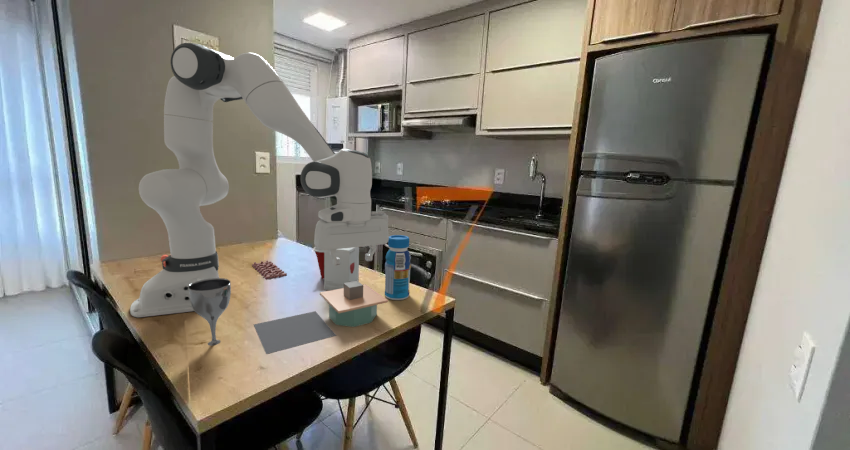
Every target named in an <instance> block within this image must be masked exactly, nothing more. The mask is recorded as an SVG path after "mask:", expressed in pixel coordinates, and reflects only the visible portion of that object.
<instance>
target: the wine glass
mask: <svg viewBox="0 0 850 450" xmlns="http://www.w3.org/2000/svg"><path fill="white" fill-rule="evenodd" d="M188 289H189V298H190V302H191V305H192V307H193V309H194V311H193V312H195V313H196V314H197V315H198V316H199V317H201V318H203V319H204V320H205V321H206V322H207V323H208V325H209V327H210V332H211V340H210V341H209V342H208V343H207V345H208V346H210V347H211V346H213V347H214V346H216V345H219V344H220V343H221V340H220V339H217V335H216V334H217V333H216V329H217V322H218V320H219V318H220V317H221V316H222V315H223V313H224V312H225V311H226V309H228V307H229V305H230V300H231V294H232V293H231V292H232V290H231V289H232V287H231V280H230V279H227V278H222V277H219V278H211V279H204V280H200V281H197V282H194V283H192V284H190V285H189V287H188Z"/></svg>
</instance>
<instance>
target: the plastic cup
mask: <svg viewBox="0 0 850 450" xmlns="http://www.w3.org/2000/svg"><path fill="white" fill-rule="evenodd" d="M312 249H313V251H314V252H315V256H316V259H317V264H318V269H319V273H320V277H321V279H323V280H324V250H323V251H321V250H319V249H318V248H316V246H314V247H313V248H312Z"/></svg>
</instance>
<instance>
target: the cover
mask: <svg viewBox="0 0 850 450" xmlns="http://www.w3.org/2000/svg"><path fill="white" fill-rule="evenodd" d="M319 295H320V296H321V297H322V299H323V300H324V301H326V302H327V304H328V305H329V304H330V305H331V306H332V307H333V308H334V309H335V310H336V311H337V312H338V313H343V312H347V311H352V310H356V309H360V308H365V307H369V306H374V305H377V306H378V305H383V304H386V303H388V302H389V299H388V298H387V297H384V296H383V295H382V294H380V293H379V292H377V291H376V290H374V289H373V288H372V287H371V286H369V285H368V284H366V283H365V284H362V283H361V282H360V281H359V282H358V281H353V282H348V283H344V288H341V289H336V290H325V291H322V292H319Z"/></svg>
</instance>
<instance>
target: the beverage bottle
mask: <svg viewBox="0 0 850 450" xmlns="http://www.w3.org/2000/svg"><path fill="white" fill-rule="evenodd" d="M387 245H388V246H387V247H388V248H389V249H388V251H387V252H386V253H385V254H386V255H385V263H384V269H385V270H384V271H385V272H384V273H385V276H384V279H385V280H384V284H385V285H384V296H385V298H386V299H387V300H393V301H403V300H406V299H408V298H409V297H410V280H411V268H412V263H411V259H412V256H411V253H410V251H409V249H408V248H410V237H409V236H407V235H401V234H393V235H389V241H388V242H387Z"/></svg>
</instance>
